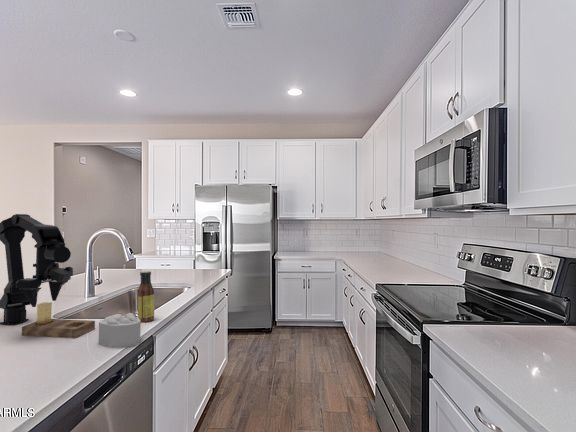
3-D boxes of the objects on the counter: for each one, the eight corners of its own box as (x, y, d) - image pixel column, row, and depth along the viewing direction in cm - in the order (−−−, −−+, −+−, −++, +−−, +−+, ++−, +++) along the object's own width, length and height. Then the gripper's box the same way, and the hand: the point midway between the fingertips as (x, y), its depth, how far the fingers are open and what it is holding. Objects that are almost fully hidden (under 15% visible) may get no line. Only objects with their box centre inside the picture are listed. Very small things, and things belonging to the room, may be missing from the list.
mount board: (21, 335, 119) (21, 326, 119) (44, 326, 129) (44, 318, 129) (75, 338, 117) (76, 329, 117) (94, 328, 127) (94, 320, 127)
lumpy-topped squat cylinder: (119, 334, 122) (119, 310, 122) (148, 339, 117) (148, 314, 117) (93, 344, 112) (94, 317, 112) (124, 350, 107) (125, 322, 108)
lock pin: (36, 332, 122) (37, 304, 122) (43, 329, 125) (44, 302, 125) (44, 332, 122) (45, 304, 122) (50, 330, 125) (51, 302, 125)
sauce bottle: (157, 318, 142) (158, 270, 142) (149, 323, 135) (150, 273, 136) (142, 317, 142) (143, 270, 142) (133, 322, 136) (135, 272, 136)
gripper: (46, 264, 114) (44, 311, 113) (84, 258, 132) (83, 298, 132) (15, 263, 115) (13, 310, 114) (57, 257, 133) (56, 297, 133)
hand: (44, 303), depth 123 cm, fingers open, 9 cm apart
